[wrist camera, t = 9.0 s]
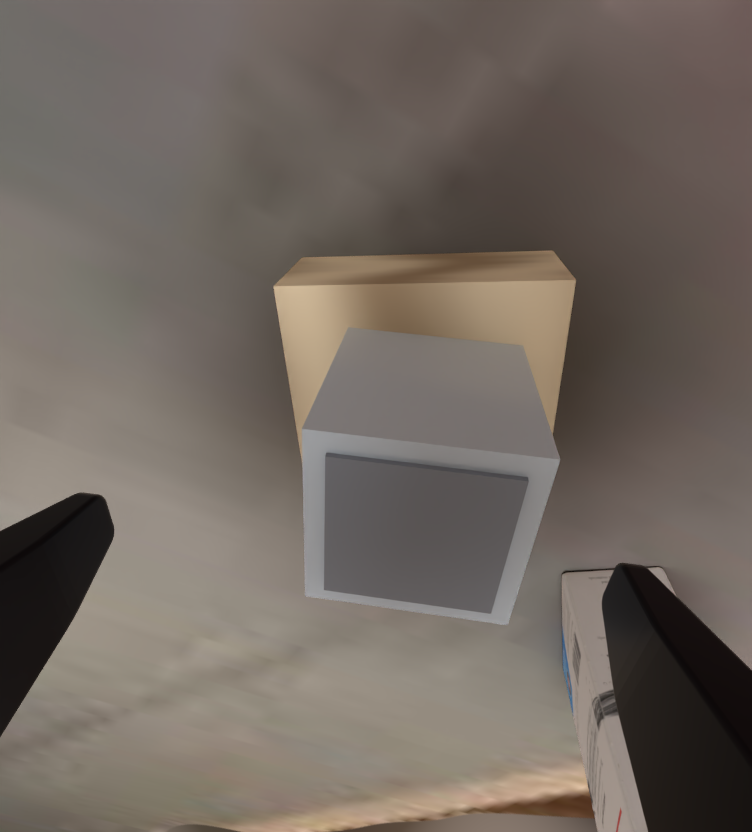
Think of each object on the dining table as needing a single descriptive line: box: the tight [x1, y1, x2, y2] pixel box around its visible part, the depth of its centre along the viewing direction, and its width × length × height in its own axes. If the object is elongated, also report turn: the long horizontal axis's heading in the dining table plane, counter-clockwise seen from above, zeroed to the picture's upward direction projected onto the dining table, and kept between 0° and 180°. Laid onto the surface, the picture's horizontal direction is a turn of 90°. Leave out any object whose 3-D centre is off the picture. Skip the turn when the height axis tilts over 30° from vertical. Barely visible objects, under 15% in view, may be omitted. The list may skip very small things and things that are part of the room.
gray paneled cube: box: [302, 327, 560, 625], centre depth 14 cm, size 6×6×6 cm
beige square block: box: [273, 251, 576, 466], centre depth 19 cm, size 9×9×4 cm
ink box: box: [562, 567, 676, 832], centre depth 20 cm, size 8×5×15 cm, turn 11°
